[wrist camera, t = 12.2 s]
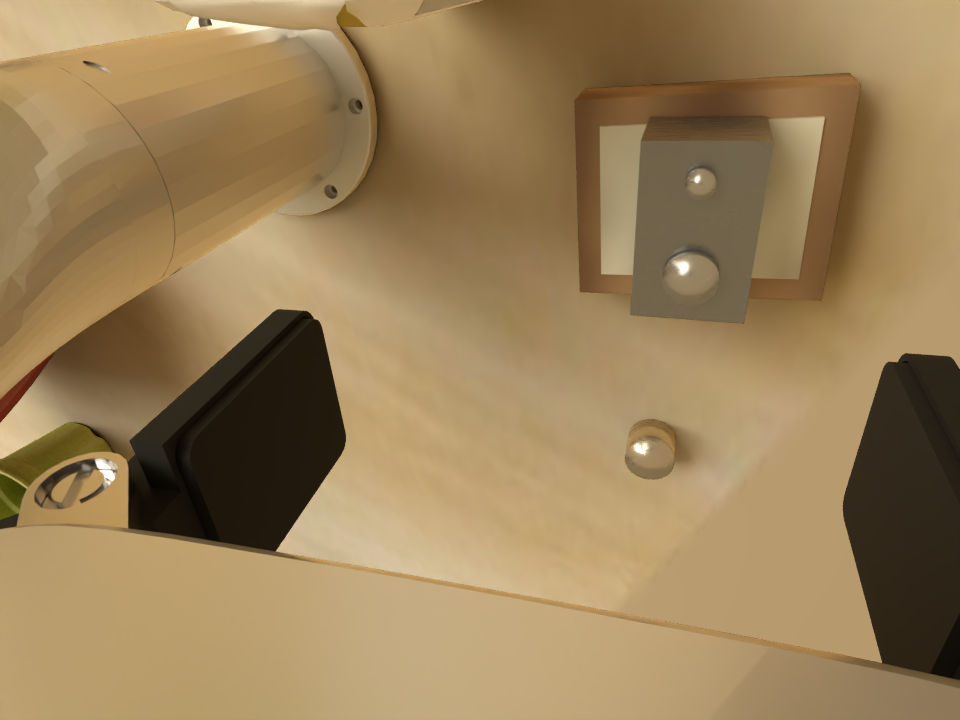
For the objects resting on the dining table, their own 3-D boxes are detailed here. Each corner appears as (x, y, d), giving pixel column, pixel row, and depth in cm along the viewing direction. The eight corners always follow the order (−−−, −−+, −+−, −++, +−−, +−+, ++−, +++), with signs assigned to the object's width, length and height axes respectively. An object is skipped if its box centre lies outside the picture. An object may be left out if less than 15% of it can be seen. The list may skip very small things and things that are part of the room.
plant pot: (106, 411, 60) (26, 473, 53) (145, 488, 64) (76, 555, 57) (31, 403, 63) (-55, 462, 56) (74, 478, 67) (0, 540, 60)
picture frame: (588, 269, 38) (579, 293, 36) (584, 88, 33) (573, 101, 31) (814, 275, 35) (822, 302, 32) (849, 73, 30) (862, 85, 27)
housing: (649, 116, 30) (639, 144, 26) (766, 116, 29) (774, 144, 25) (639, 276, 34) (629, 320, 30) (741, 282, 33) (744, 330, 29)
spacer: (628, 451, 45) (624, 475, 43) (630, 416, 43) (625, 439, 41) (674, 457, 44) (671, 482, 42) (677, 421, 42) (675, 445, 40)
